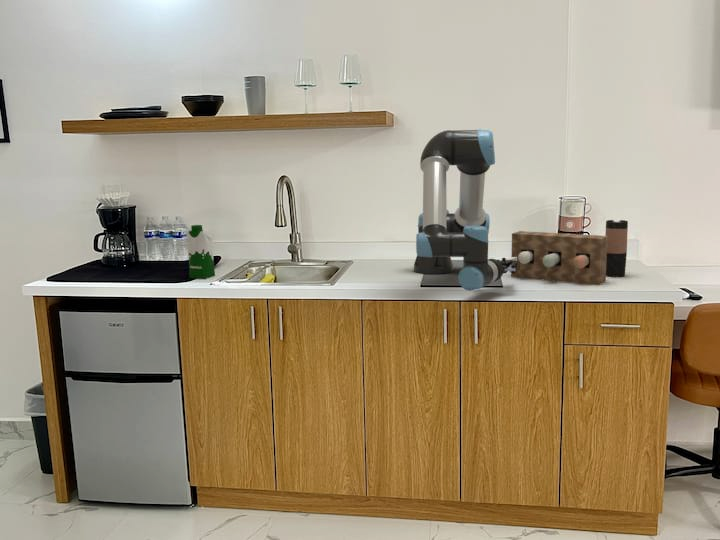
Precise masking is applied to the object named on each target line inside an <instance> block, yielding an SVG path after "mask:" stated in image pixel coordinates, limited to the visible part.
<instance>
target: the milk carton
mask: <svg viewBox="0 0 720 540" xmlns="http://www.w3.org/2000/svg"><path fill="white" fill-rule="evenodd" d="M185 235H186V239H187V251H188V269H189V271H188V273H189V279H201V280H202V279H203V280H206V279H209V278H212V277H214V276H216V273H215V262H214V261H215V260H214V245H213V244H214V243H213V240H214V239H213V238H214V229H211V228H210V229H206V228H204V229H203V225H201V224H193V225H191V226H190V230H186V231H185Z"/></svg>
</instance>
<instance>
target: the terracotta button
mask: <svg viewBox="0 0 720 540" xmlns="http://www.w3.org/2000/svg"><path fill="white" fill-rule="evenodd" d="M588 264H590V255H589V254H582V255H579V256H577V257H575V259H574V265H575V266H576V267H577V268H583V267H585V266H586V265H588Z"/></svg>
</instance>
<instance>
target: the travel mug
mask: <svg viewBox="0 0 720 540" xmlns="http://www.w3.org/2000/svg"><path fill="white" fill-rule="evenodd" d="M628 223H629V221H628V220H624V219H622V220H621V219H620V220H619V221H618V220H617V221H614V219H610V220H609V219H608V220H606V221H605V235H604V236H608V237H607V261H606V277H609V278H610V277H611V278H623V277H626V267H627V255H628V254H627V253H628V232H629V231H628V225H629V224H628Z"/></svg>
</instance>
